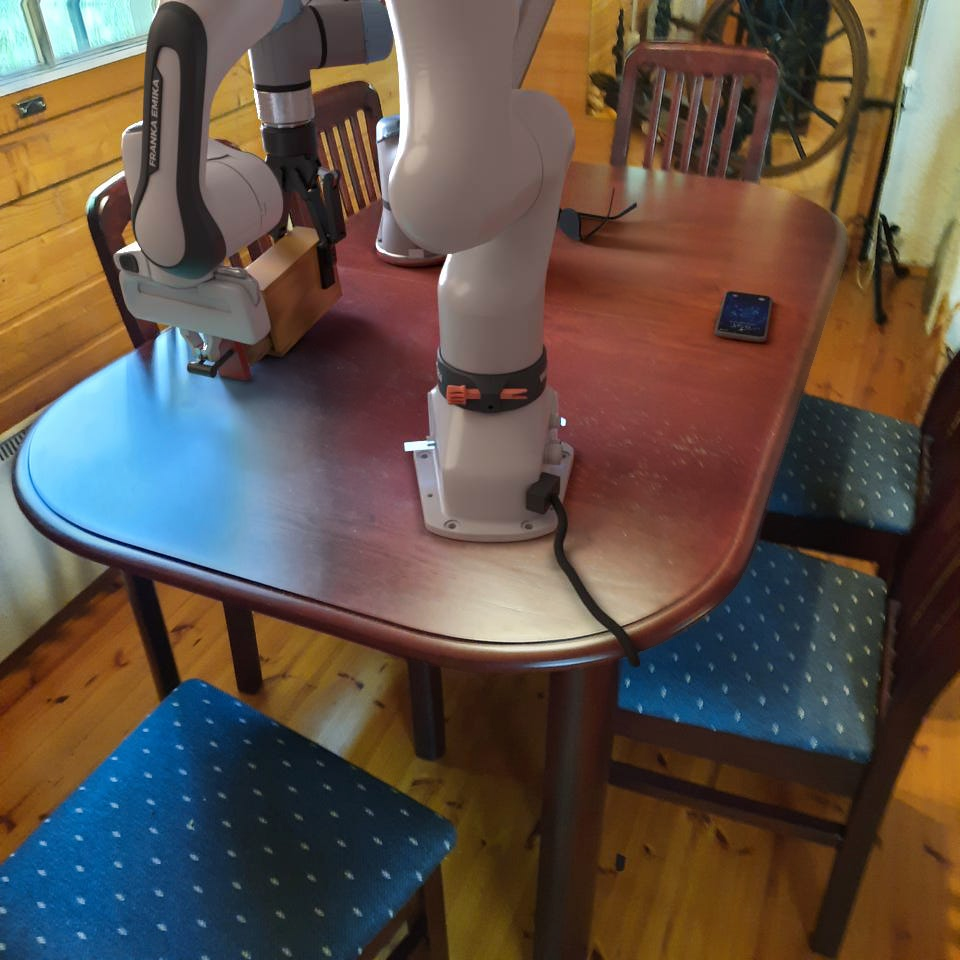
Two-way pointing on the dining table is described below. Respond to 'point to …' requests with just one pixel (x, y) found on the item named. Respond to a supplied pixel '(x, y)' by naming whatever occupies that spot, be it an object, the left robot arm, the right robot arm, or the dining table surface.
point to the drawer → (233, 359)
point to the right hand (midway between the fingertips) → (207, 358)
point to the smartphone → (744, 316)
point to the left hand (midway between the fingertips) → (309, 282)
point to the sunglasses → (572, 221)
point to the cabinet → (293, 287)
